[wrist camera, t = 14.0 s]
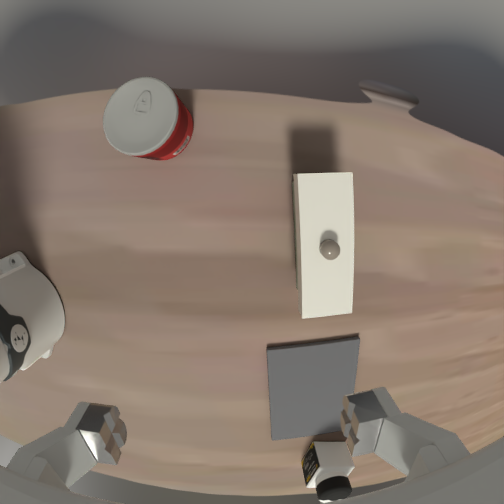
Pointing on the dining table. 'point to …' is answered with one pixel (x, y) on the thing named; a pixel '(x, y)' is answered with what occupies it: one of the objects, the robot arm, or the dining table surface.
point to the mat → (310, 386)
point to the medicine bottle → (328, 470)
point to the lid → (324, 243)
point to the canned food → (147, 120)
